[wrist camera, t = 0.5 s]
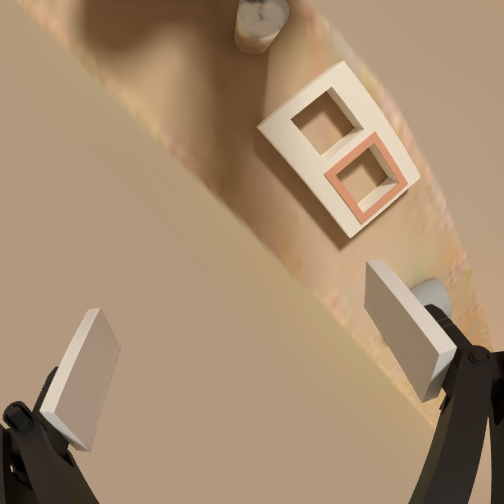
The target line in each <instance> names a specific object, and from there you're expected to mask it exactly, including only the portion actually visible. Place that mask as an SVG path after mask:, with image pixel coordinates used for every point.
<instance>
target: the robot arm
mask: <svg viewBox="0 0 504 504" xmlns="http://www.w3.org/2000/svg"><path fill="white" fill-rule="evenodd" d="M364 307H365V309H366V311H367V312H368V314H369V315H370V317H371V318H372V320H373V322H374V323H375V325H376V326H377V328H378V330H379V331H380V333H381V334H382V336H383V338H384V339H385V341H386V343H387V344H388V346H389V347H390V349H391V351H392V352H393V354H394V356H395V357H396V359H397V361H398V362H399V364H400V366H401V367H402V369H403V371H404V373H405V374H406V376H407V378H408V379H409V381H410V383H411V385H412V386H413V388H414V390H415V392H416V393H417V395H418V397H419V399H420V400H421V402H422V403H423V402H426V401H428V400H431V399H433V398H435V397H438V395H439V393H440V390H441V388H443V389H444V391H445V393H446V395H445V398H444V400H443V402H442V404H441V406H440V408H439V409H440V410H441V413H440V417H439V420H438V424H437V427H436V431H435V434H434V437H433V440H432V443H431V447H430V450H429V453H428V456H427V458H426V461H425V464H424V467H423V469H422V472H421V475H420V477H419V480H418V482H417V485H416V487H415V490H414V492H413V494H412V497H411V499H410V501H409V503H408V504H468V501H469V498H470V495H471V492H472V488H473V485H474V481H475V477H476V474H477V470H478V465H479V461H480V457H481V452H482V447H483V442H484V437H485V431H486V425H487V419H488V417H489V427H490V440H491V467H492V483H491V504H504V351H501V352H493V353H490V351H489V350H487V349H486V348H485V347H482V346H478V345H472V344H471V343H470V342H469V341H468V339H467V338H466V337H465V336H464V335H463V333H462V332H461V331H460V330H459V329H458V328H457V326H456V325H455V324H453V322H452V321H451V320H450V318H448V316H447V315H446V314H445V313H444V312H443V310H442V309H440V308H438V307H437V306H435V305H433V304H429V305H425V306H423V305H422V304H421V303H420V302H419V301H418V299H417V298H416V297H415V296H414V295H413V294H412V293H411V291H410V290H409V289H408V288H407V287H406V286H405V285H404V284H403V282H402V281H401V280H400V279H399V278H398V277H397V276H396V275H395V274H394V272H393V271H392V270H391V269H390V268H389V267H388V266H387V265H386V264H385V263H384V262H383V260H382V259H381V258H378V259H373V260H368V261H366V283H365V304H364ZM120 349H121V348H120V346H119V344H118V342H117V340H116V338H115V336H114V334H113V332H112V330H111V328H110V326H109V324H108V322H107V320H106V318H105V316H104V314H103V311H102V309H101V308H93V309H88V311H87V313H86V314H85V316H84V318H83V320H82V322H81V324H80V326H79V327H78V330H77V331H76V333H75V335H74V337H73V339H72V341H71V343H70V345H69V347H68V349H67V351H66V353H65V356H64V357H63V360H62V361H61V364H60V366H59V367H55V368H54V369H53V370H52V372H51V373H50V374H49V376H48V377H47V379H46V382H45V385H44V386H43V388H42V391H41V393H40V395H39V397H38V399H37V402H36V404H35V406H34V409H33V411H32V412H31V411H30V409H29V408H28V407H27V406H26V405H25V404H24V403H23V402H21V401H16V402H13V403H11V404H10V405H9V406H8V407H7V408H6V409H5V411H4V414H3V420H4V422H5V423H6V424H7V425H8V426H9V427H10V428H8V429H5V428H4V427H3V426H2V425H1V424H0V504H99V502H98V501H97V499H96V497H95V496H94V494H93V493H92V491H91V489H90V487H89V486H88V484H87V482H86V481H85V479H84V477H83V475H82V473H81V471H80V470H79V468H78V466H77V464H76V462H75V460H74V458H73V456H72V454H71V453H70V451H69V450H68V449H67V448H68V445H69V443H70V444H71V445H72V446H73V447H74V448H75V449H76V450H80V451H88V452H91V449H92V445H93V441H94V437H95V433H96V429H97V426H98V422H99V418H100V414H101V411H102V407H103V403H104V400H105V397H106V393H107V390H108V387H109V383H110V380H111V377H112V374H113V370H114V367H115V364H116V361H117V358H118V355H119V352H120ZM10 465H11V466H12V467H13V472H11V468H10Z"/></svg>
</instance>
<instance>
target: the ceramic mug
mask: <svg viewBox="0 0 504 504" xmlns="http://www.w3.org/2000/svg"><path fill="white" fill-rule="evenodd" d="M409 290H410V291H411V293H412V294H413V295H414V296H415V297H416V298H417V299H418V301H419V302H420V303H421V304H422V305H423V306H425V305H429V304H433V305H435V306H437V307H438V308H440V309H442V310H443V312H444V313H445V314H446V315H447V316H448V318H450V317H451V314H452V307H451V301H450V297H449V295H448V293H447V291H446V289H445V287H444V286H443V284H442V283H441V282H440V281H439V280H438V279H437V278H434V277H432V278H430V279H428V280H426V281H424V282H422V283H420V284H418V285H416V286H415V287H413V288H411V289H409Z"/></svg>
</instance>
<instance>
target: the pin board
mask: <svg viewBox="0 0 504 504" xmlns="http://www.w3.org/2000/svg"><path fill="white" fill-rule="evenodd" d="M325 91H326V92H327V93H328V94H329V95H330V97H331V98H332V99H333V100H334V102H335V103H336V104H337V105H338V107H339V108H340V109H341V111H342V112H343V113H344V114H345V116H346V117H347V118H348V120H349V121H350V123H351V124H352V125H353V127H354V129H353V130H351V131H350V132H349V133H348V134H347V135H345V136H344V137H343V138H342V139H341V140H339V141H338V142H337V143H336V144H334V145H333V146H332V147H331V148H330V149H328V150H327V151H326V152H325V153H324V154H322V155H321V156H320V155H319V154H318V152H317V151H316V150H315V149H314V147H313V146H312V145H311V144H310V143H309V141H308V140H307V139H306V138H305V136H304V135H303V134H302V133H301V132H300V130H299V129H298V128H297V127H296V126H295V125H294V123H293V122H292V121H291V120H290V119H291V118H293V117H294V116H295V115H296V114H298V113H299V112H300V111H301V110H303V109H304V108H305V107H306V106H307V105H309V104H310V103H311V102H313V101H314V100H315V99H316V98H318V97H319V96H320V95H321V94H323V93H324V92H325ZM256 128H257V129H258V130H259V131H260V132H261V133H262V134H263V136H264V137H265V138H266V139H267V140H268V141H269V142H270V143H271V144H272V146H273V147H274V148H275V149H276V150H277V151H278V152H279V154H280V155H281V156H282V157H283V158H284V159H285V160H286V162H287V163H288V164H289V165H290V166H291V167H292V169H293V170H294V171H295V172H296V173H297V175H298V176H299V177H300V178H301V179H302V181H303V182H304V183H305V184H306V185H307V187H308V188H309V189H310V190H311V191H312V193H313V194H314V195H315V196H316V198H317V199H318V200H319V201H320V203H321V204H322V205H323V206H324V207H325V209H326V210H327V211H328V213H329V214H330V215H331V216H332V218H333V219H334V220H335V221H336V223H337V224H338V225H339V227H340V228H341V229H342V230H343V231H344V233H345V234H346V235H347V236H348V237H349V238H352V237H353V236H354V235H355V234H356V233H357V232H359V231H360V230H361V229H362V228H363V227H365V226H366V225H367V224H368V223H369V222H370V221H372V220H373V219H374V218H375V217H376V216H377V215H378V214H380V213H381V212H382V211H383V210H384V209H385V208H386V207H388V206H389V205H390V204H391V203H392V202H393V201H394V200H396V199H397V198H398V197H399V196H400V195H401V194H402V193H403V192H405V191H406V190H407V189H408V188H409V187H410V186H411V185H412V184H413V183H415V182H416V181H417V180H418V179H419V178H420V177H421V176H420V174H419V172H418V170H417V169H416V167H415V165H414V163H413V162H412V160H411V158H410V156H409V155H408V153H407V151H406V150H405V148H404V146H403V145H402V143H401V141H400V140H399V138H398V137H397V135H396V133H395V132H394V130H393V129H392V127H391V126H390V124H389V122H388V121H387V119H386V118H385V116H384V115H383V113H382V112H381V111H380V109H379V108H378V106H377V105H376V103H375V102H374V100H373V99H372V98H371V96H370V95H369V93H368V92H367V91H366V89H365V88H364V87H363V85H362V84H361V83H360V81H359V80H358V79H357V77H356V76H355V75H354V73H353V72H352V71H351V70H350V68H349V67H348V66H347V65H346V63H345V62H344V61H341V62H339V63H336V64H334V65H333V66H331V67H330V68H329V69H327V70H326V71H325V72H323V73H322V74H321V75H319V76H318V77H317V78H315V79H314V80H313V81H311V82H310V83H309V84H308V85H306V86H305V87H304V88H302V89H301V90H300V91H299V92H297V93H296V94H295V95H293V96H292V97H291V98H290V99H288V100H287V101H286V102H285V103H283V104H282V105H281V106H280V107H279V108H277V109H276V110H275V111H274V112H272V113H271V114H270V115H269V116H268V117H266V118H265V119H264V120H263V121H262V122H261V123H259V124H258V125H257V126H256ZM367 148H369V149H370V151H371V152H372V154H373V155H374V157H375V158H376V160H377V161H378V163H379V164H380V166H381V167H382V169H383V170H384V172H385V173H386V175H387V177H388V178H387V179H386V180H385V181H383V182H382V183H381V184H380V185H379V186H378V187H376V188H375V189H374V190H373V191H372V192H371V193H369V194H368V195H367V196H366V197H365V198H364V199H363V200H361V201H360V202H359V203H358V204H356V202H355V201H354V199H353V198H352V197H351V195H350V194H349V192H348V191H347V190H346V188H345V187H344V186H343V184H342V183H341V182H340V180H339V179H338V178H337V176H336V174H338V173H339V172H340V171H341V170H342V169H344V168H345V167H346V166H347V165H348V164H349V163H351V162H352V161H353V160H354V159H355V158H357V157H358V156H359V155H360V154H361V153H363V152H364V151H365V150H366V149H367Z"/></svg>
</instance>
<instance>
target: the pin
mask: <svg viewBox="0 0 504 504" xmlns="http://www.w3.org/2000/svg"><path fill="white" fill-rule="evenodd" d="M289 14H290V9H289V6H288V3H287V2H286V0H241V1H240V3H239V7H238V13H237V19H236V26H235V32H234V43H235V45H236V47H237V48H238V49H239V50H240V51H242V52H243V53H246V54H250V55H256V54H260V53H262V52H264V51H265V50H266V49H267V48H268V47H269V46H270V44H271V43H272V41H273V40H274V39H275V37H276V36H277V34H278V33H279V31H280V30H281V29H282V27H283V26H284V24H285V23H286V22H287V20H288V18H289Z"/></svg>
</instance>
